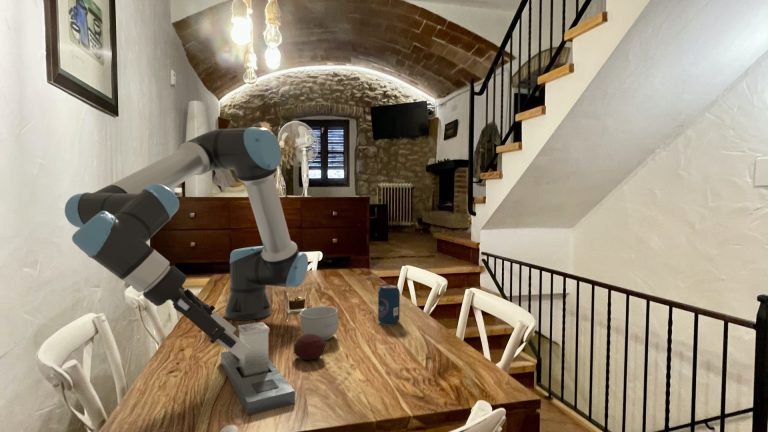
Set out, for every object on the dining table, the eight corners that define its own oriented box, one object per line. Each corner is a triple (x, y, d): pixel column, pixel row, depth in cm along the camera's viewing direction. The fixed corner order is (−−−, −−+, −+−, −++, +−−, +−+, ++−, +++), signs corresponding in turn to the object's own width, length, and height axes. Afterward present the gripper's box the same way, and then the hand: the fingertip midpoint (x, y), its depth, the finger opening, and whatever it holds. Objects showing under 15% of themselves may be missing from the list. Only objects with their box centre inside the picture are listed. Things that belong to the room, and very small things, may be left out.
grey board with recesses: (220, 362, 99) (220, 352, 99) (258, 355, 104) (258, 345, 104) (247, 415, 75) (247, 401, 75) (294, 403, 80) (294, 390, 80)
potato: (302, 367, 97) (302, 342, 97) (288, 356, 104) (288, 333, 103) (329, 360, 101) (329, 336, 101) (314, 350, 108) (314, 327, 108)
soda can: (373, 322, 133) (373, 285, 132) (389, 318, 137) (389, 282, 137) (387, 327, 127) (388, 289, 127) (403, 323, 132) (404, 286, 132)
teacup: (330, 346, 111) (330, 317, 111) (293, 342, 113) (293, 314, 113) (345, 329, 125) (345, 304, 124) (312, 327, 127) (312, 302, 127)
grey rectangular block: (238, 379, 90) (238, 325, 90) (263, 373, 93) (262, 321, 93) (243, 388, 86) (243, 332, 85) (269, 383, 89) (269, 328, 88)
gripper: (140, 282, 88) (215, 339, 96) (140, 309, 66) (237, 380, 75) (168, 256, 90) (238, 314, 99) (176, 274, 69) (266, 346, 77)
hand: (238, 342), depth 87 cm, fingers open, 13 cm apart
